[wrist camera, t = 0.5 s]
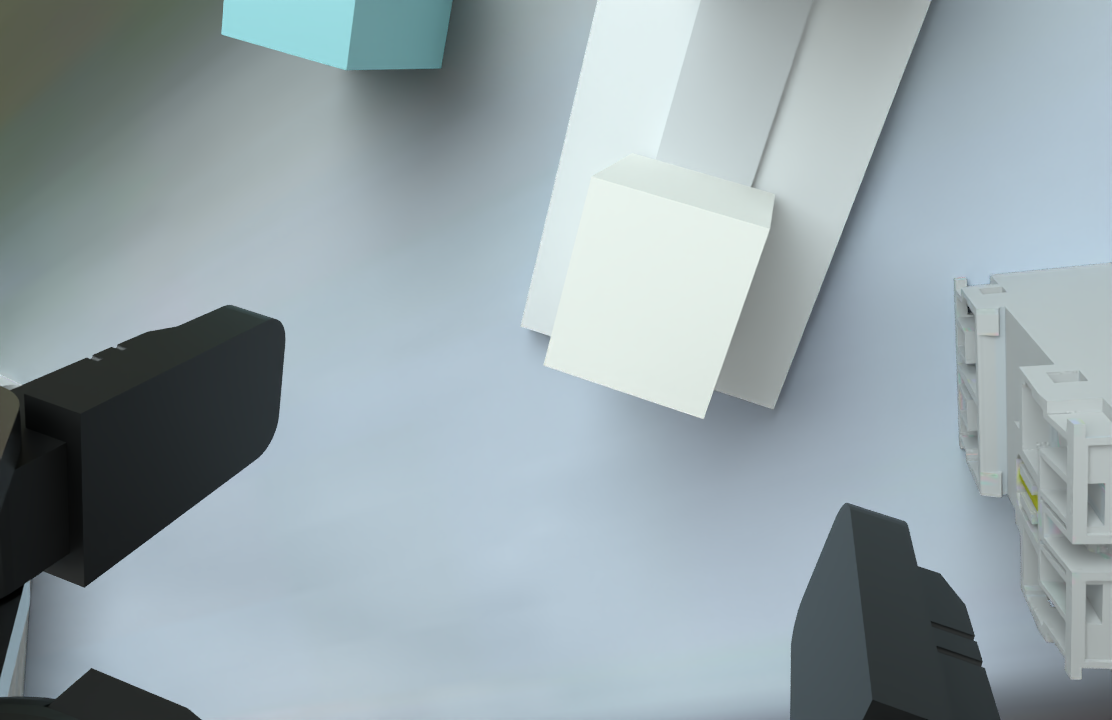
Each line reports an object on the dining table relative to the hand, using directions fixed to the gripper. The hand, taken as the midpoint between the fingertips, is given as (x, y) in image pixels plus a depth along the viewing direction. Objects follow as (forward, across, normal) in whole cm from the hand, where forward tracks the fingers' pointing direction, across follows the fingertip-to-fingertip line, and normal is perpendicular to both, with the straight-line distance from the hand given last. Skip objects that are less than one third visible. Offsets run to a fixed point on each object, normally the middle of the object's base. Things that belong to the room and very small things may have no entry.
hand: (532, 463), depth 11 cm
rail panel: (+26, 0, -5) cm, 27 cm away
